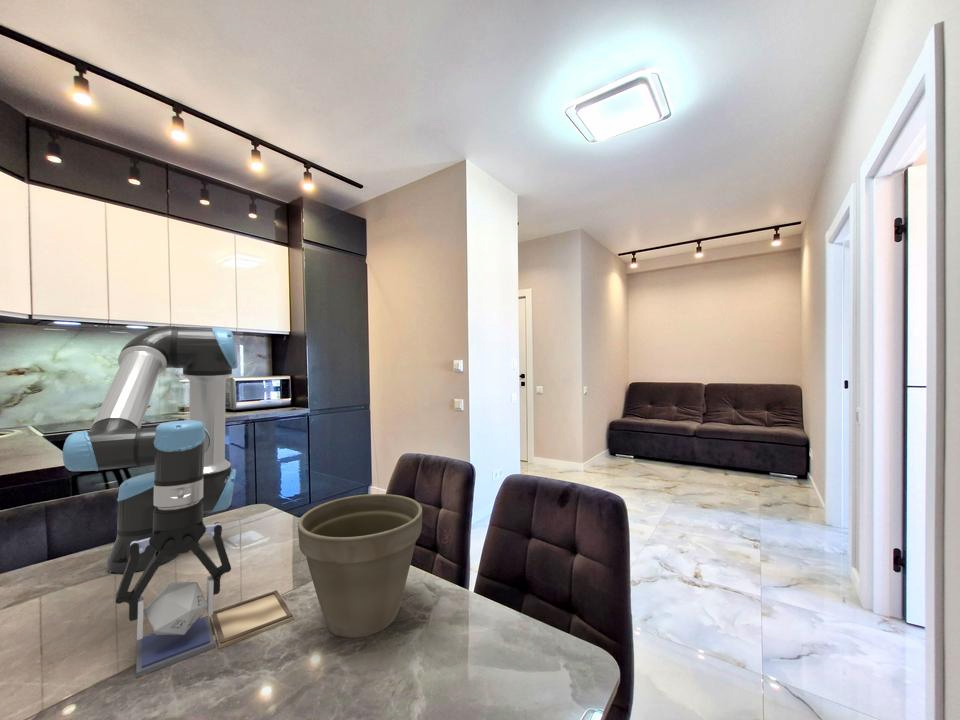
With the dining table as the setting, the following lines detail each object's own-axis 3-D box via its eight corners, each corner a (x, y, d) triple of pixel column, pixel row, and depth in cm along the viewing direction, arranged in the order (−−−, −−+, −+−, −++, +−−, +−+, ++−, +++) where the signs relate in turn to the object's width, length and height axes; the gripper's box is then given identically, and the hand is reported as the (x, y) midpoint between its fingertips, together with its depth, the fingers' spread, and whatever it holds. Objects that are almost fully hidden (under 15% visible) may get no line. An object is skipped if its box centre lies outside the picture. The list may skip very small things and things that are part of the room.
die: (154, 657, 67) (199, 600, 70) (119, 625, 69) (164, 571, 72) (188, 643, 75) (227, 592, 78) (156, 614, 77) (195, 565, 80)
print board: (209, 616, 82) (209, 612, 82) (277, 593, 90) (277, 589, 90) (219, 648, 72) (219, 643, 72) (294, 619, 80) (294, 615, 80)
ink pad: (136, 644, 73) (136, 637, 73) (207, 619, 81) (207, 613, 81) (136, 677, 65) (136, 670, 65) (215, 647, 72) (215, 640, 72)
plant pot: (368, 678, 65) (369, 545, 66) (267, 637, 75) (269, 523, 76) (444, 599, 87) (443, 501, 88) (358, 576, 98) (359, 488, 99)
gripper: (94, 524, 64) (91, 663, 63) (250, 495, 78) (248, 608, 78) (98, 512, 69) (95, 639, 69) (242, 487, 84) (241, 592, 84)
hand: (176, 623), depth 73 cm, fingers closed on die, 10 cm apart
